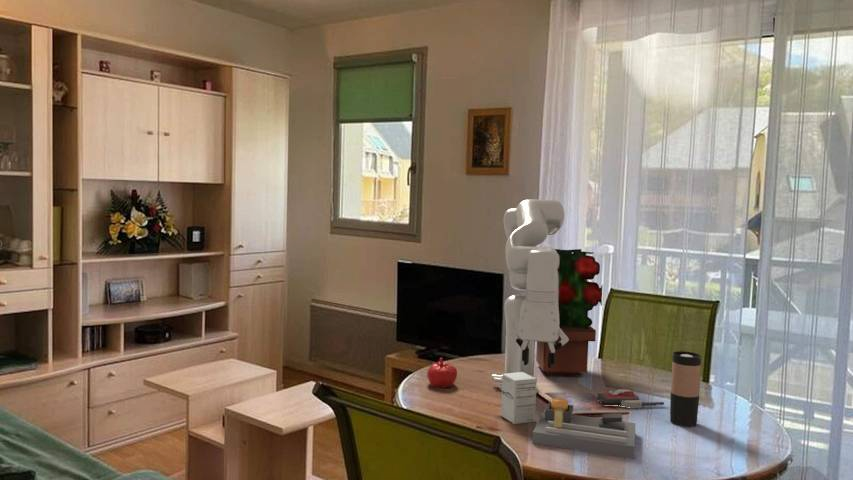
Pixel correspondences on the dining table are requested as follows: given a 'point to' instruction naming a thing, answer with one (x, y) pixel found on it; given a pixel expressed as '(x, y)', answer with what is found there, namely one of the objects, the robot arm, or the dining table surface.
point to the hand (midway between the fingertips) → (538, 364)
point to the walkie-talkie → (624, 399)
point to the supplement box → (518, 397)
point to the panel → (585, 434)
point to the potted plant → (573, 313)
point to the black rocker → (612, 417)
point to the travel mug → (685, 388)
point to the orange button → (559, 403)
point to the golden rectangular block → (559, 417)
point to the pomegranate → (442, 374)
